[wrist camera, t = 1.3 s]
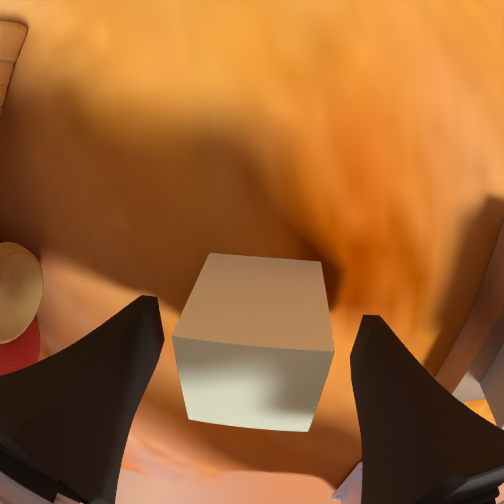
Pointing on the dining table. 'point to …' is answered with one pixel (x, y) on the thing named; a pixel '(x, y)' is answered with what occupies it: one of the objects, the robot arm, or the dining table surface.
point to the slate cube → (495, 388)
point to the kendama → (17, 254)
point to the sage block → (255, 342)
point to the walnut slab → (478, 335)
